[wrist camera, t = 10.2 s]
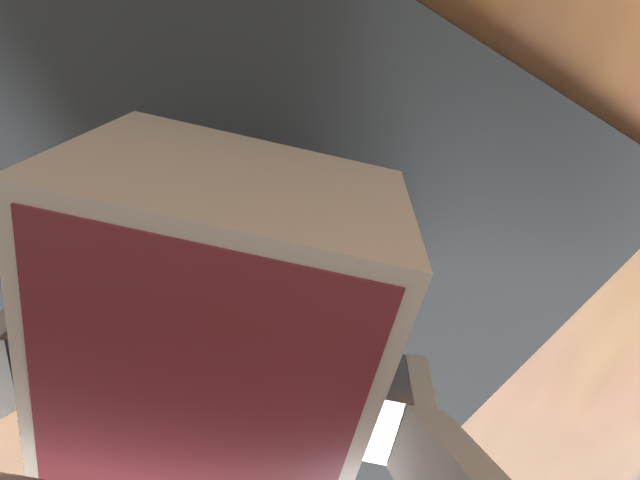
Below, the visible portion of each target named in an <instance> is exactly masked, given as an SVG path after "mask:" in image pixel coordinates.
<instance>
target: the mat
mask: <svg viewBox="0 0 640 480" xmlns="http://www.w3.org/2000/svg"><path fill="white" fill-rule="evenodd" d="M133 111H137V112H142V113H146V114H151V115H155V116H160V117H164V118H168V119H173V120H177V121H182V122H186V123H190V124H195V125H199V126H204V127H208V128H213V129H217V130H221V131H226V132H230V133H235V134H239V135H243V136H248V137H252V138H257V139H261V140H266V141H270V142H274V143H279V144H283V145H288V146H292V147H297V148H301V149H305V150H310V151H314V152H319V153H323V154H327V155H332V156H336V157H341V158H345V159H350V160H354V161H358V162H363V163H367V164H372V165H376V166H380V167H385V168H389V169H394V170H398V171H401V172H402V175H403V178H404V182H405V185H406V188H407V191H408V194H409V198H410V201H411V204H412V207H413V211H414V214H415V217H416V220H417V223H418V227H419V230H420V233H421V236H422V240H423V243H424V246H425V249H426V252H427V256H428V259H429V262H430V265H431V268H432V272H433V276H432V278H431V281H430V283H429V286H428V289H427V291H426V294H425V297H424V299H423V302H422V305H421V307H420V310H419V312H418V315H417V318H416V320H415V323H414V326H413V328H412V331H411V334H410V336H409V339H408V341H407V344H406V347H405V349H404V352H403V354H411V355H418V356H425V357H426V358H427V359H428V363H429V367H430V372H431V376H432V380H433V385H434V389H435V393H436V398H437V402H438V407H439V410H442V411H446V412H447V413H448V414H449V415H450V416H451V417H452V418H453V419H454V420H455V421H456V422H457V423H458V424H459V426H460V427H461V426H462V425H463V424H464V423H465V422H466V421H467V420H468V419H469V418H470V417H471V416H472V415H473V414H474V413H475V412H476V411H477V410H478V409H479V408H480V407H481V406H482V405H483V404H484V403H485V402H486V401H487V400H488V399H489V398H490V397H491V396H492V395H493V394H494V393H495V392H496V391H497V390H498V389H499V388H500V387H501V386H502V385H503V384H504V383H505V382H506V381H507V380H508V379H509V378H510V377H511V376H512V375H513V374H514V373H515V372H516V371H517V370H518V369H519V368H520V367H521V366H522V365H523V364H524V363H525V362H526V361H527V360H528V359H529V358H530V357H531V356H532V355H533V354H534V353H535V352H536V351H537V350H538V349H539V348H540V347H541V346H542V345H543V344H544V343H545V342H546V341H547V340H548V339H549V338H550V337H551V336H552V335H553V334H554V333H555V332H556V331H557V330H558V329H559V328H560V327H561V326H562V325H563V324H564V323H565V322H566V321H567V320H568V319H569V318H570V317H571V316H572V315H573V314H574V313H575V312H576V311H577V310H578V309H579V308H580V307H581V306H582V305H583V304H584V303H585V302H586V301H588V300H589V299H590V298H591V297H592V296H593V295H594V294H595V293H596V292H597V291H598V290H599V289H600V288H601V287H602V286H603V285H604V284H605V283H606V282H607V281H608V280H609V279H610V278H611V277H612V276H613V275H614V274H615V273H616V272H617V271H618V270H619V269H620V268H621V267H622V266H623V265H624V264H625V263H626V262H627V261H628V260H629V259H630V258H631V257H632V256H633V255H634V254H635V253H636V252H637V251H638V250H639V249H640V144H638V143H637V142H635V141H634V140H632V139H631V138H629V137H627V136H626V135H624V134H623V133H621V132H620V131H618V130H617V129H615V128H614V127H612V126H610V125H609V124H607V123H606V122H604V121H603V120H601V119H600V118H598V117H596V116H595V115H593V114H592V113H590V112H589V111H587V110H586V109H584V108H582V107H581V106H579V105H578V104H576V103H575V102H573V101H572V100H570V99H568V98H567V97H565V96H564V95H562V94H561V93H559V92H558V91H556V90H555V89H553V88H551V87H550V86H548V85H547V84H545V83H544V82H542V81H541V80H539V79H537V78H536V77H534V76H533V75H531V74H530V73H528V72H527V71H525V70H523V69H522V68H520V67H519V66H517V65H516V64H514V63H513V62H511V61H509V60H508V59H506V58H505V57H503V56H502V55H500V54H499V53H497V52H495V51H494V50H492V49H491V48H489V47H488V46H486V45H485V44H483V43H482V42H480V41H478V40H477V39H475V38H474V37H472V36H471V35H469V34H468V33H466V32H464V31H463V30H461V29H460V28H458V27H457V26H455V25H454V24H452V23H450V22H449V21H447V20H446V19H444V18H443V17H441V16H440V15H438V14H436V13H435V12H433V11H432V10H430V9H429V8H427V7H426V6H424V5H423V4H421V3H419V2H418V1H416V0H0V171H1V170H4V169H6V168H8V167H10V166H12V165H15V164H17V163H19V162H21V161H24V160H26V159H28V158H30V157H33V156H35V155H37V154H39V153H42V152H44V151H46V150H48V149H50V148H53V147H55V146H57V145H59V144H62V143H64V142H66V141H68V140H71V139H73V138H75V137H77V136H80V135H82V134H84V133H86V132H88V131H91V130H93V129H95V128H97V127H100V126H102V125H104V124H106V123H109V122H111V121H113V120H115V119H118V118H120V117H122V116H124V115H126V114H129V113H131V112H133ZM3 308H4V304H3V296H2V288H1V280H0V310H1V309H3ZM386 467H387V465H381V464H376V463H371V462H365V461H362V463H361V465H360V468H359V471H358V473H357V476H356V479H355V480H394V479H393V478H392V476H391V474H390V473H389V471H388V469H387V468H386Z"/></svg>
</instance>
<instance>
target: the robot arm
mask: <svg viewBox="0 0 640 480" xmlns="http://www.w3.org/2000/svg"><path fill="white" fill-rule="evenodd" d="M15 410H16V401H15V393H14V385H13V377H12V369H11V361H10V353H9V344H8V336H7V328H6V320H5V312H4V308H3V309H1V310H0V419H2V418H3V417H5V416H7V415H8V414H10V413H12V412H13V411H15ZM362 461H365V462H371V463H376V464H381V465H387V467H386V468H387V469H388V471H389V473H390V474H391V476H392V478H393V479H394V480H511V479H510V478H509V477H508V476H507V474H506V473H505V472H504V471H503V470H502V469H501V468H500V467H499V466H498V465H497V464H496V463H495V462H494V461H493V460H492V459H491V458H490V457H489V456H488V455H487V454H486V453H485V452H484V451H483V449H482V448H481V447H480V446H479V445H478V444H477V443H476V442H475V441H474V440H473V439H472V438H471V437H470V436H469V435H468V434H467V433H466V432H465V431H464V430H463V429H462V428H461V427H460V426H459V424H458V423H457V422H456V421H455V420H454V419H453V418H452V417H451V416H450V415H449V414H448V413H447V412H446V411H442V410H439V407H438V402H437V398H436V393H435V389H434V385H433V380H432V376H431V372H430V367H429V363H428V359H427V358H426V357H425V356H418V355H411V354H403V355H402V357H401V360H400V363H399V365H398V368H397V370H396V373H395V376H394V378H393V381H392V384H391V386H390V389H389V392H388V394H387V397H386V400H385V402H384V405H383V407H382V410H381V413H380V415H379V418H378V421H377V423H376V426H375V429H374V431H373V434H372V436H371V439H370V442H369V444H368V447H367V450H366V452H365V455H364V458H363V460H362ZM0 480H47V479H40V478H34V477H28V476H21V475H15V474H9V473H2V472H0Z"/></svg>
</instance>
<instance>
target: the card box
mask: <svg viewBox="0 0 640 480" xmlns="http://www.w3.org/2000/svg"><path fill="white" fill-rule="evenodd" d="M432 276H433V272H432V268H431V265H430V262H429V259H428V256H427V252H426V249H425V246H424V243H423V240H422V236H421V233H420V230H419V227H418V223H417V220H416V217H415V214H414V211H413V207H412V204H411V201H410V198H409V194H408V191H407V188H406V185H405V182H404V178H403V175H402V172H401V171H398V170H394V169H389V168H385V167H380V166H376V165H372V164H367V163H363V162H358V161H354V160H350V159H345V158H341V157H336V156H332V155H327V154H323V153H319V152H314V151H310V150H305V149H301V148H297V147H292V146H288V145H283V144H279V143H274V142H270V141H266V140H261V139H257V138H252V137H248V136H243V135H239V134H235V133H230V132H226V131H221V130H217V129H213V128H208V127H204V126H199V125H195V124H190V123H186V122H182V121H177V120H173V119H168V118H164V117H160V116H155V115H151V114H146V113H142V112H137V111H133V112H131V113H129V114H126V115H124V116H122V117H120V118H118V119H115V120H113V121H111V122H109V123H106V124H104V125H102V126H100V127H97V128H95V129H93V130H91V131H88V132H86V133H84V134H82V135H80V136H77V137H75V138H73V139H71V140H68V141H66V142H64V143H62V144H59V145H57V146H55V147H53V148H50V149H48V150H46V151H44V152H42V153H39V154H37V155H35V156H33V157H30V158H28V159H26V160H24V161H21V162H19V163H17V164H15V165H12V166H10V167H8V168H6V169H4V170H1V171H0V280H1V288H2V296H3V304H4V312H5V320H6V328H7V336H8V344H9V353H10V361H11V369H12V377H13V385H14V393H15V401H16V409H17V417H18V425H19V433H20V441H21V450H22V458H23V466H24V474H25V476H28V477H34V478H40V479H47V480H355V479H356V476H357V473H358V471H359V468H360V465H361V463H362V460H363V458H364V455H365V452H366V450H367V447H368V444H369V442H370V439H371V436H372V434H373V431H374V429H375V426H376V423H377V421H378V418H379V415H380V413H381V410H382V407H383V405H384V402H385V400H386V397H387V394H388V392H389V389H390V386H391V384H392V381H393V378H394V376H395V373H396V370H397V368H398V365H399V363H400V360H401V357H402V355H403V352H404V349H405V347H406V344H407V341H408V339H409V336H410V334H411V331H412V328H413V326H414V323H415V320H416V318H417V315H418V312H419V310H420V307H421V305H422V302H423V299H424V297H425V294H426V291H427V289H428V286H429V283H430V281H431V278H432Z"/></svg>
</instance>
